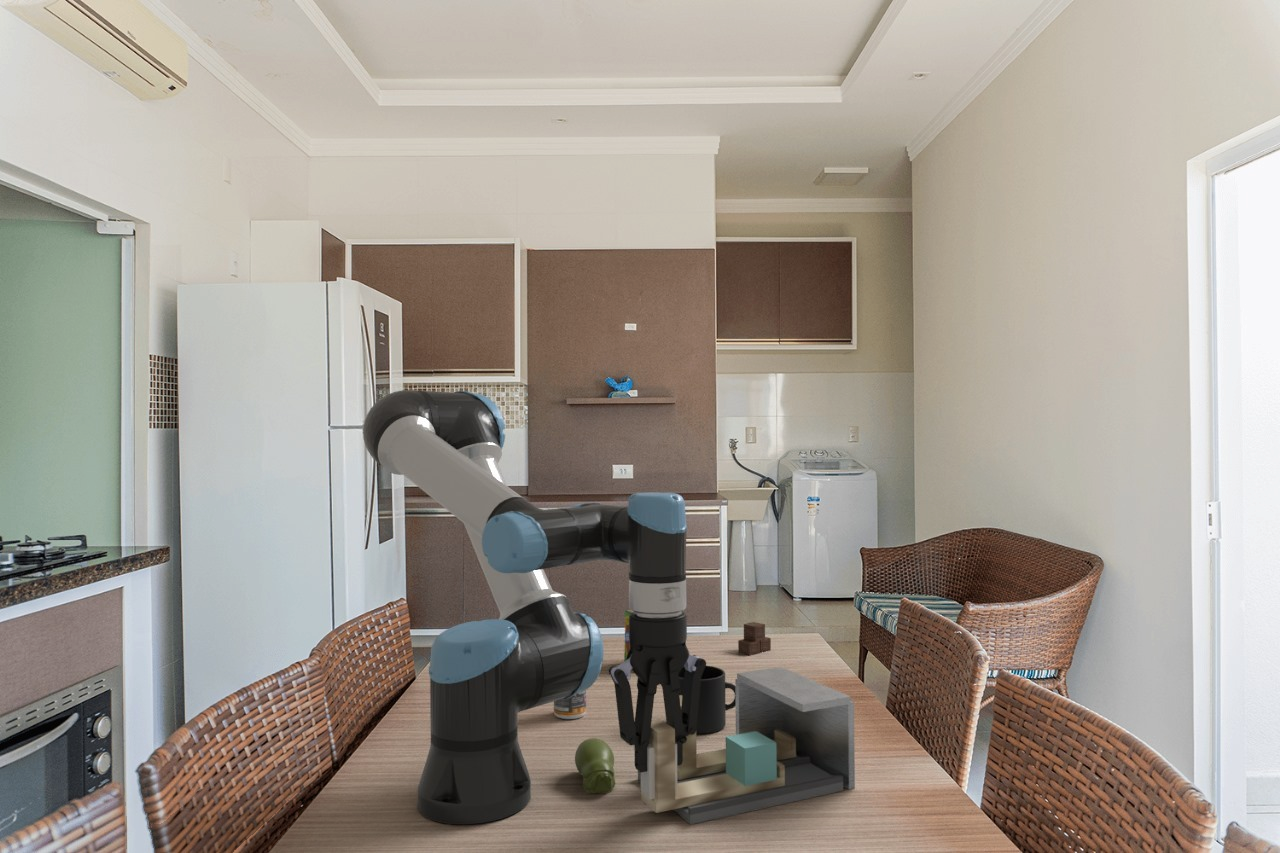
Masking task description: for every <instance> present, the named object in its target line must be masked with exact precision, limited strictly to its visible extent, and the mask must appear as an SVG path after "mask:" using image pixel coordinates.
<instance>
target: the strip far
mask: <svg viewBox="0 0 1280 853" xmlns="http://www.w3.org/2000/svg"><path fill="white" fill-rule="evenodd" d="M679 697H680V705H681V706H682V695H679ZM665 723H667V722H665ZM686 738H687V741H686V742H685V743H684V744H683V761H682V765H678V766H677V779H679V780H682V779H687V778H692V777H697V776H702V775H707V774H712V773H717V772H722V771H726V748H724V749H725V750H723V749H718V750H719V751H717V750H713V751H714V752H712V751H708V753H706V752H702V753H703V754H701V753H697V734H696V732H695V734H693V735H688V736H686ZM773 741H774V742H776V759H777V761H778V760H783V759H788V758H793V757H796V738H795V737H793V736H791V735H789V734H787V733H785V732H784V731H782V730H780V729H776V730H775V740H773ZM697 754H698V755H697Z"/></svg>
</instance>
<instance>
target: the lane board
mask: <svg viewBox="0 0 1280 853" xmlns="http://www.w3.org/2000/svg"><path fill="white" fill-rule="evenodd" d="M725 749H726V748H724V749H722V750H725ZM719 750H720V749H718V750H716V751H719ZM714 751H715V750H712V751H711V752H714ZM708 752H709V751H708ZM708 752H705V753H708ZM703 753H704V752H702V753H700V754H703ZM698 754H699V753H697V755H698ZM778 761H779V762H780V763H782V764H783V765H785V786H781V787H776V788H772V789H767V790H762V791H758V792H753V793H748V794H743V795H739V796H734V797H729V798H725V799H720V800H715V801H710V802H706V803H701V804H696V805H691V806H687V807H682V808H677V809H673V810H672V811H674V812H675V813H676V814H678V815H679V816H680V817H681V818H682V819H684V820H685V821H686V822H687V823H688V824H689V825H695V824H698V823H704V822H707V821H709V822H710V821H712V820H717V819H721V818H726V817H731V816H735V815H739V814H740V815H741V814H744V813H748V812H749V813H750V812H752V811H758V810H763V809H766V808H771V807H775V806H781V805H785V804H788V803H793V802H799V801H802V800H803V801H804V800H807V799H810V798H816V797H821V796H825V795H829V794H834V793H837V792H839V793H840V792H843V791H844V786H843V776H842V775H836V776H832V775H830V774H829V773H827V772H825V771H823V770H822V769H820V768H818V767H816V766H815V765H813V764H811V763H810V757H808V756H805V757H799V756H797V755H796V757H793V758H788V759H783V760H778ZM723 774H727V773H726V771H722V772H717V773H712V774H707V775H702V776H697V777H692V778H687V779H682V780H679V779H677V783H682V782H687V781H692V780H697V779H702V778H707V777H713V776H718V775H723ZM637 780H638V781H639V782H641V773H640V772H639V771H638V770H637Z"/></svg>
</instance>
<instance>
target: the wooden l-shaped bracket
mask: <svg viewBox="0 0 1280 853" xmlns="http://www.w3.org/2000/svg"><path fill="white" fill-rule="evenodd" d="M649 744H650V745H652V746H653V747H654V748H655V799H648V798H647V797H646V796H645V795H644V794H643V793H642V792H641V801H643V803H644V804H646V805H647V806H648V808H650V809H651V810H652V811H654V813H656V814H658V813H662V812H663V813H664V812H667V811H671V810H672V811H674V810H673V809H677V808H682V807H687V806H691V805H696V804H701V803H706V802H710V801H715V800H720V799H725V798H729V797H734V796H739V795H743V794H748V793H753V792H758V791H762V790H767V789H772V788H776V787H781V786H785V765H783V764H782V763H780V762H779V761H777V780H772V781H768V782H763V783H758V784H753V785H748V786H744V785H743V784H741V783H740V782H738V781H737V780H735V779H734V778H733V777H731V776H730V775H728V774H723V775H718V776H713V777H707V778H702V779H697V780H692V781H687V782H682V783H677V794H675V729H674V728H672V727H671V726H669V725H668V724H667V723H666V722H665V721H663V719H661V718H658V719H652V721H651V731H650V740H649Z"/></svg>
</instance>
